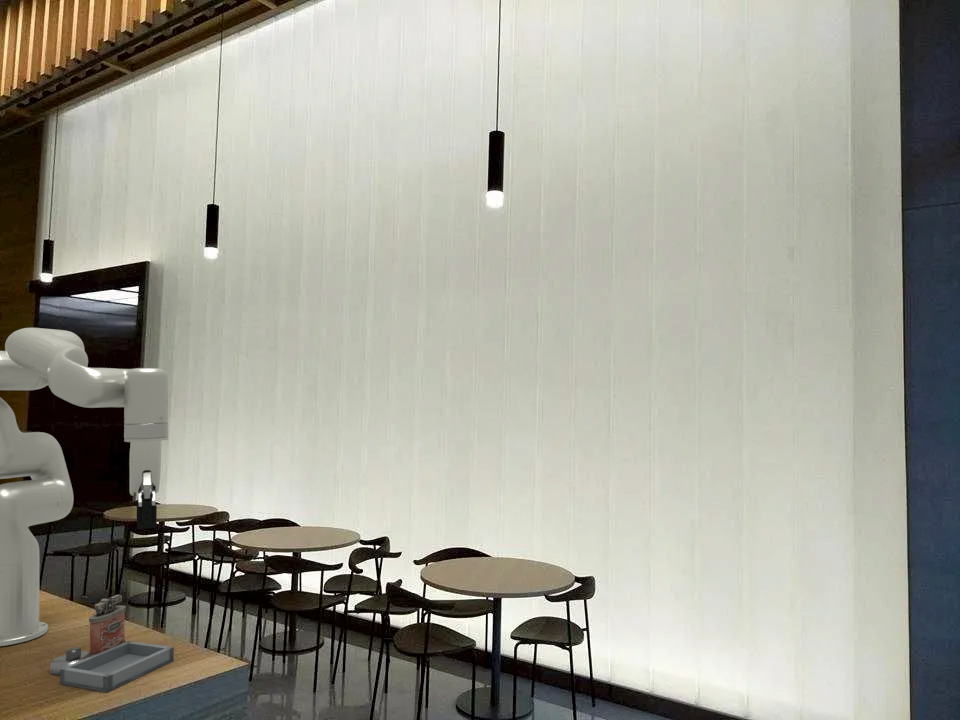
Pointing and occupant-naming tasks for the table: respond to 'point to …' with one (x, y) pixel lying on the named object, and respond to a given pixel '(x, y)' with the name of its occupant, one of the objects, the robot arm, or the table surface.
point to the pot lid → (68, 659)
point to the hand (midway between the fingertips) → (146, 523)
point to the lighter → (107, 625)
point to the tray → (116, 666)
